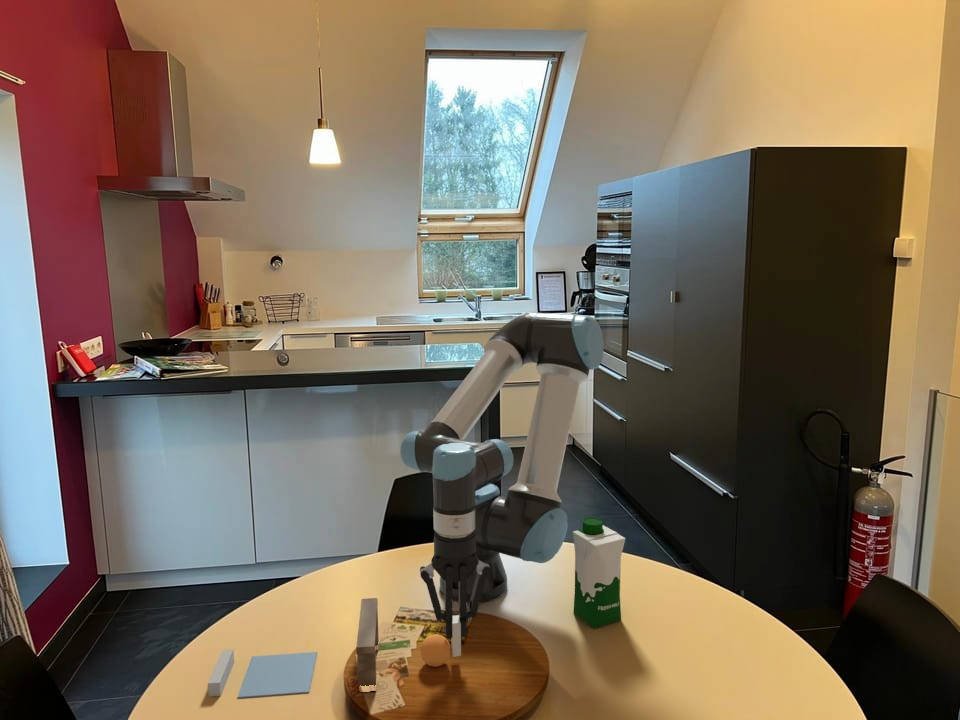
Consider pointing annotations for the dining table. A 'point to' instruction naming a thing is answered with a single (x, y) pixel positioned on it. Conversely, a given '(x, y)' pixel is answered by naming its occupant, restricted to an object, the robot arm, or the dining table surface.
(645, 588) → the dining table surface
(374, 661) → the bridge
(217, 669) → the rail
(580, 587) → the milk carton
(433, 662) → the ball
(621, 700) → the dining table surface
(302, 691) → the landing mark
